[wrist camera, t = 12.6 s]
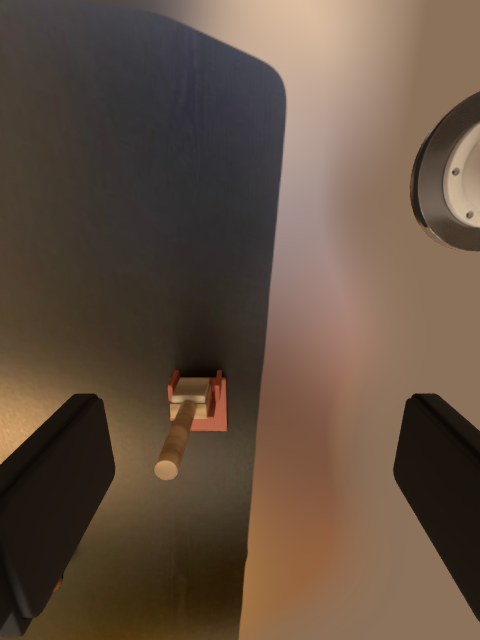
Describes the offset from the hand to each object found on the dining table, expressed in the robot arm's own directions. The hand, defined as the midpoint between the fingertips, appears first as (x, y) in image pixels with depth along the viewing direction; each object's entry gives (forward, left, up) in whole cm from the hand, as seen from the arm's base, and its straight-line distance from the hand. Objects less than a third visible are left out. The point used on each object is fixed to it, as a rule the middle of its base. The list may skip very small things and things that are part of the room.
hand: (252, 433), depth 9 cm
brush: (+7, +13, -19) cm, 24 cm away
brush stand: (+7, +19, -30) cm, 36 cm away
